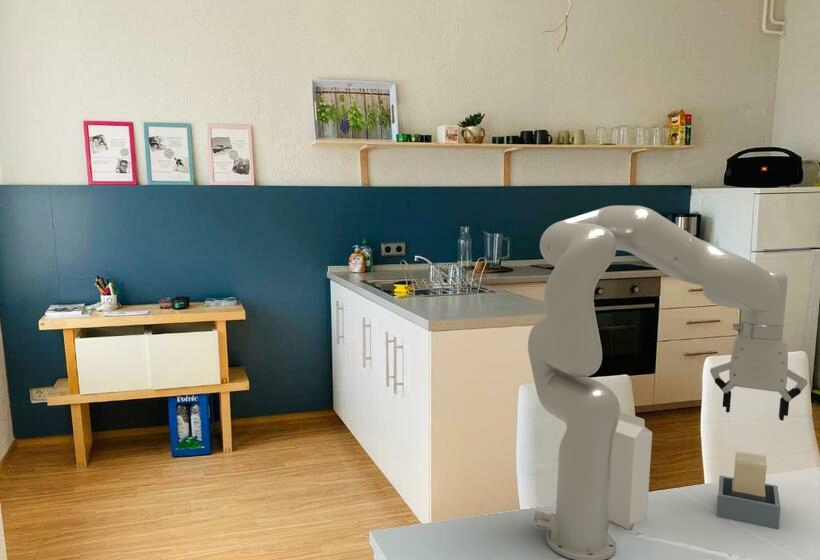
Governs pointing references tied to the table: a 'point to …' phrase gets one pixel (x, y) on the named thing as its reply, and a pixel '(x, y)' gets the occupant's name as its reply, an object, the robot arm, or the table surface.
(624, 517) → the milk
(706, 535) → the table surface
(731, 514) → the tote
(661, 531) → the table surface
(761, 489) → the beige cube
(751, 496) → the block
